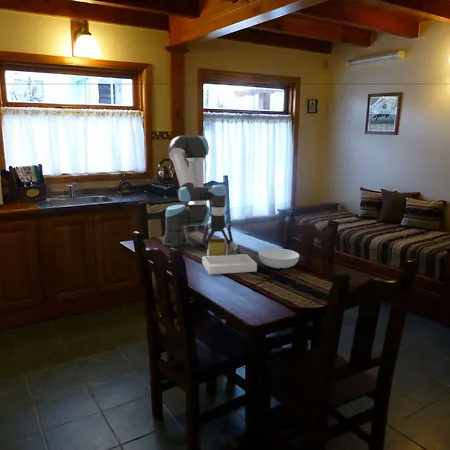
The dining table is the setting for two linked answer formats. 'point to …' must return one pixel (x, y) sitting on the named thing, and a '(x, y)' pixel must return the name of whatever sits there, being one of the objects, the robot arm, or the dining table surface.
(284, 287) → the dining table surface
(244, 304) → the dining table surface
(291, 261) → the serving bowl
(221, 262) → the tray
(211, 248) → the flower pot
